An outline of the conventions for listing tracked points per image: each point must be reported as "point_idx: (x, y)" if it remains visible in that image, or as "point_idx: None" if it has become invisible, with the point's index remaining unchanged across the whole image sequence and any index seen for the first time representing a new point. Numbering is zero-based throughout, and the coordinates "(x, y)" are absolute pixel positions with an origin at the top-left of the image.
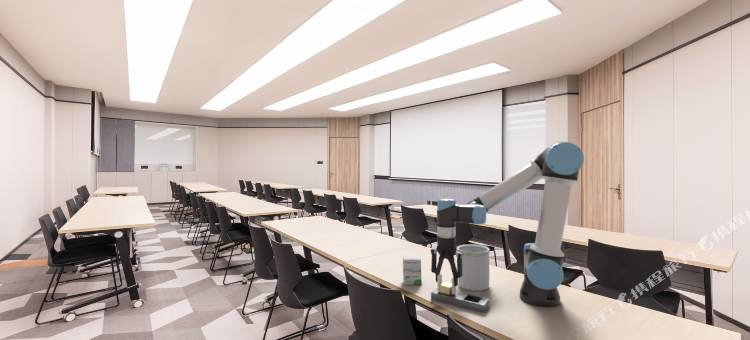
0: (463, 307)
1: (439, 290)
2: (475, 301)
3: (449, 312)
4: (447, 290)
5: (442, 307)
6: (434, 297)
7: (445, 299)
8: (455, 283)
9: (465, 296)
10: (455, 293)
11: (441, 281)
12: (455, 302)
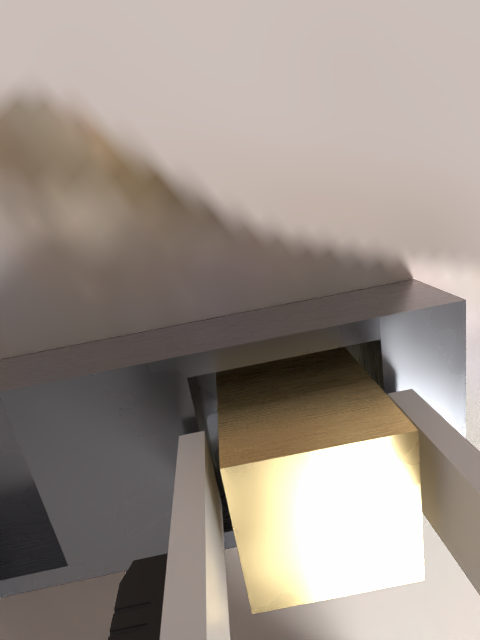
0: (25, 356)
1: None
2: (7, 534)
3: (53, 133)
4: (255, 422)
5: (201, 196)
6: (387, 295)
7: (243, 327)
8: (140, 605)
9: (54, 506)
10: None
11: (456, 547)
12: (112, 350)
